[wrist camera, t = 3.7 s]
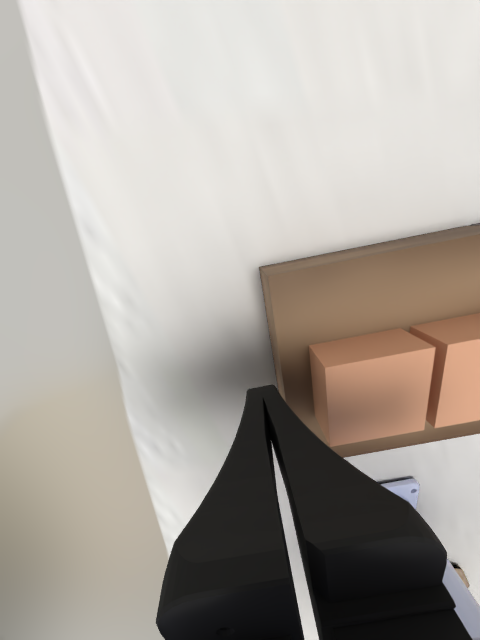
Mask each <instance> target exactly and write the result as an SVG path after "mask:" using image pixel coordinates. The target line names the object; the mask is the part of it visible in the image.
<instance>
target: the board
mask: <svg viewBox="0 0 480 640" xmlns="http://www.w3.org/2000/svg"><path fill="white" fill-rule="evenodd" d="M259 269H260V276H261V282H262V289H263V295H264V301H265V308H266V314H267V321H268V327H269V333H270V340H271V346H272V353H273V359H274V366H275V372H276V378H277V385H278V391H279V393H280V395H281V396H282V398H283V399H284V401H285V402H286V403H287V404H288V406H289V407H290V408H291V409H292V411H293V412H294V413H295V414H296V415H297V416H298V417H299V419H300V420H301V421H302V422H303V423H304V424H305V425H306V426H307V427H308V428H309V429H310V430H311V431H312V432H313V433H314V434H315V435H316V436H317V437H318V438H319V439H321V440H322V441H323V442H324V443H325V444H326V445H327V446H329V444H328V442H327V440H326V438H325V435H324V433H323V431H322V429H321V427H320V425H319V423H318V421H317V419H316V417H315V410H314V399H313V387H312V376H311V365H310V354H309V345H314V344H319V343H324V342H330V341H335V340H340V339H345V338H351V337H356V336H361V335H366V334H372V333H377V332H382V331H387V330H393V329H398V328H401V329H403V330H405V331H407V332H408V333H410V326H414V325H419V324H424V323H430V322H435V321H440V320H445V319H451V318H456V317H461V316H466V315H472V314H477V313H480V225H476V226H463V227H458V228H453V229H448V230H443V231H438V232H433V233H428V234H423V235H418V236H413V237H408V238H403V239H398V240H393V241H388V242H383V243H378V244H373V245H368V246H363V247H358V248H353V249H348V250H343V251H338V252H333V253H328V254H323V255H318V256H313V257H308V258H303V259H298V260H292V261H287V262H282V263H277V264H272V265H267V266H262V267H259ZM479 433H480V420H478V421H472V422H467V423H461V424H456V425H450V426H444V427H439V428H434V427H433V426H432V425H431V424H430V423H428V422H427V421H426V420H425V427H424V430H422V431H417V432H411V433H405V434H400V435H394V436H389V437H383V438H377V439H372V440H366V441H361V442H355V443H349V444H344V445H338V446H333V447H330V446H329V447H330V448H331V449H332V450H333V451H334V452H336V453H337V454H338V455H340V456H341V457H342V458H344V457H350V456H355V455H361V454H367V453H372V452H378V451H384V450H389V449H395V448H400V447H406V446H412V445H417V444H423V443H429V442H434V441H440V440H446V439H451V438H457V437H462V436H468V435H474V434H479Z"/></svg>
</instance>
